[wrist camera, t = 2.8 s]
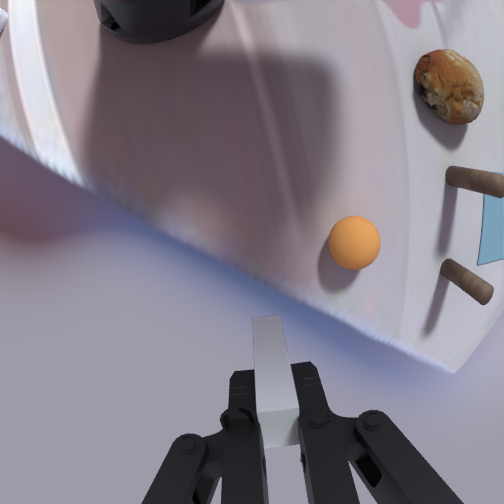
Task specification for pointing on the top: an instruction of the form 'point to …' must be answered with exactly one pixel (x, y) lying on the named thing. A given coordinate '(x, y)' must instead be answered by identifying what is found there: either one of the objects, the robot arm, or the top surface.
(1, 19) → the foam cup
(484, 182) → the post
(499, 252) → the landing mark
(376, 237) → the ball
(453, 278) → the post
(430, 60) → the bread roll
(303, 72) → the top surface
